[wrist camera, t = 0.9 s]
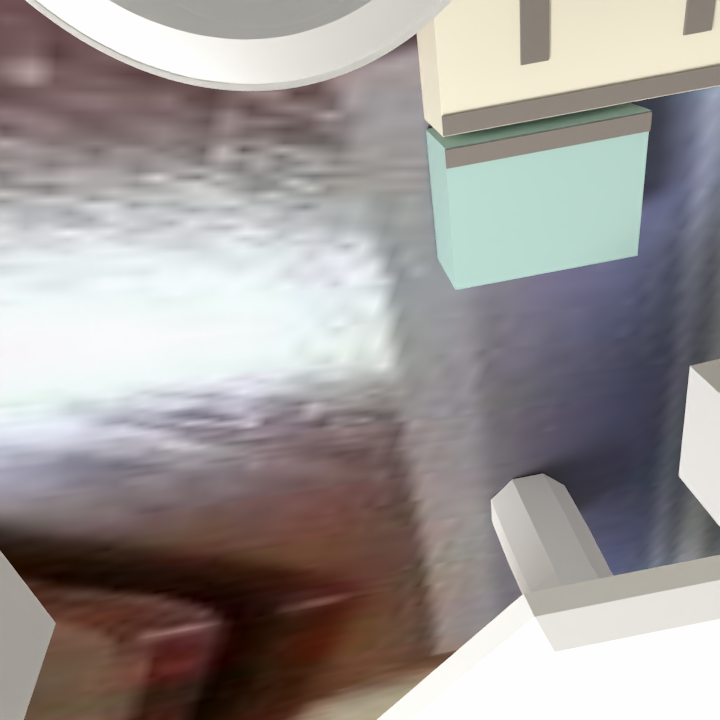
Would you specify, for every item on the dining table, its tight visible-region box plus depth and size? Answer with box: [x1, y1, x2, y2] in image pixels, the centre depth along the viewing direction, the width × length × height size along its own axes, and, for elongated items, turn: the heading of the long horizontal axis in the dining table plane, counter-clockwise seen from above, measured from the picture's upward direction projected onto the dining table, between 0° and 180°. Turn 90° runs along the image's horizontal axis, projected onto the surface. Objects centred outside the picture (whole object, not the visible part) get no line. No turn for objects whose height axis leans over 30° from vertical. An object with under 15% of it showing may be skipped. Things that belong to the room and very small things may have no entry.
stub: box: [426, 102, 652, 290], centre depth 27 cm, size 8×6×4 cm
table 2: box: [377, 473, 720, 720], centre depth 32 cm, size 28×28×17 cm
